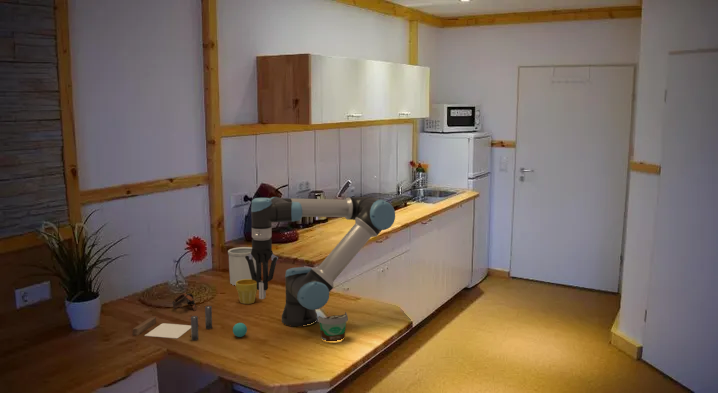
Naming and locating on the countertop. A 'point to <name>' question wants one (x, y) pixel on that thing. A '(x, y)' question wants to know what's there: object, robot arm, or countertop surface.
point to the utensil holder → (239, 264)
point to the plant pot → (246, 290)
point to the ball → (239, 329)
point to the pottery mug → (184, 301)
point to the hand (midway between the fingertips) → (262, 297)
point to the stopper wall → (144, 326)
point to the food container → (333, 327)
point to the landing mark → (169, 330)
